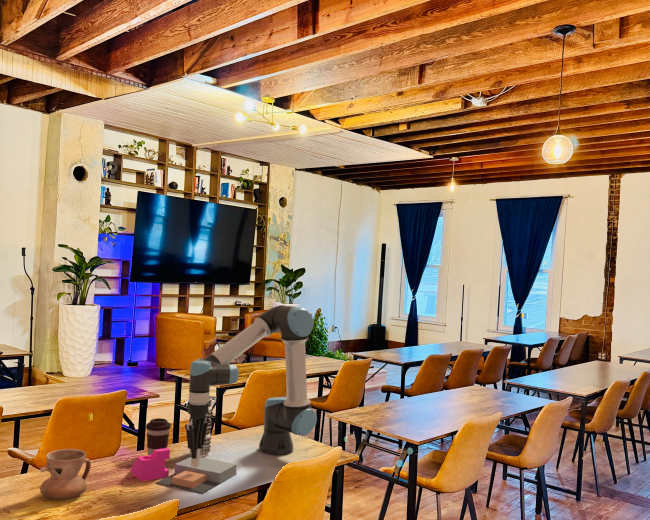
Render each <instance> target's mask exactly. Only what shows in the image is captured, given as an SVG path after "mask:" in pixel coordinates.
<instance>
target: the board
mask: <svg viewBox="0 0 650 520" xmlns="http://www.w3.org/2000/svg"><path fill="white" fill-rule="evenodd" d="M237 466H238V465H237V463H233V462H228V461H222V460H217V459H213V458H207V457H200V463H199V467H192V466H191V456H190V457H187V458H185V459H183V460H181V461H178V462H176V463H175V464H174V473H173V474H179V473H182V472H184V471H186V470H190V471H194V472H199V473H204V474H207V481H212V482H217V483H221V482H222V481H224V480H226V479H227V480H226V481H228V480H229V479H231V478H233V477H235V476H236V475H237ZM224 482H225V481H224ZM221 484H222V483H221Z"/></svg>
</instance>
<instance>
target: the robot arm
mask: <svg viewBox="0 0 650 520" xmlns="http://www.w3.org/2000/svg"><path fill="white" fill-rule="evenodd" d="M313 329H314V318H313V316H312V313H311V312H309V310H308V309H306V308H302V307H300V306H291V305H285V304H284V305H283V304H281V305H276V306H273V307H271V308H270V309H268V310H265V311H264V312H263V313H261V314H260V315H258V316H257V317H255V318H254V321H253V322H252V323H251V324H250V325H249V326H248V327H246V328H245V329H243V330H242V331H240V332H239V333H238V334H236V335H235V336H234V337H232V338H231V339H229V340H228V341H227V342H226V343H224V344H223V345H222V346H220V347H218V349H216V350H215V351H213V352H212V353H211V354H209V355H208V356H206V357H204V358H203V357H202V358H198V359H196V360H194V361H192V362H191V363H190V368H189V382H188V383H189V384H188V385H189V387H188V404H187V413H188V414H189V421H188V423H187V424H185V425H184V428H185V433H186V442H187V443H186V444H187V449H189V450H190V449H191V450H192V451H191V455H190V457H191V466H192V467H199V463H200V448H201V449H203V446H202V445H204V444H205V438H206V432H207V427H208V423H209V420H211V418H210V419H208V418H206V414H207V413H208V409H209V404H208V402H209V395H210V389H211V387H213V386H224V385H225V386H226V385H231V384H235V383H237V381H239V377H240V376H239V374H240V372H239V368H238V366H237V365H236V364H234V363H233V364H232V363H231V362H233V361H235V360H236V359H237V358H238V357H240V356H241V355H242V354H243V353H245V352H246V351H247V350H249V349H250V348H251V347H253V346H254V345H255V344H257V343H258V342H259V341H260V340H262V339H264V338H265V337H266V338H268V337H270V336H271V335H273V334H275V333H280V340H281V341H282V342H283V343H284V355H285V356H284V357H285V359H284V360H285V379H286V380H285V383H286V385H285V387H286V396H278V397H270V398H267V399H266V400H265V404H264V416H263V417H264V419H263V421H264V422H263V433H262V437H261V439H260V441H259V444H258V451H259V452H261V453H263V454H266V455H270V456H272V455H273V456H283V455H288V454H291V453H293V452H294V443H293V439H292V436H291V434H293V435H296V436H299V437H300V436H301V437H303V436H308V435H309V434H310V433H312V431H313V429H314V428H315V426H316V425H317V422H318V421H317V420H318V417H317V416H318V415H317V413H316V412H315V410H314V409H312V404H311V403H312V402H311V400H310V399H309V398H308V391H307V389H308V388H307V363H306V362H307V359H306V358H307V357H306V342H307V341H308V340H309V335H310V334H311V333H312V330H313ZM230 363H231V364H230Z"/></svg>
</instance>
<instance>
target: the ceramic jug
mask: <svg viewBox="0 0 650 520" xmlns="http://www.w3.org/2000/svg"><path fill="white" fill-rule="evenodd" d="M86 456H87V455H86V452H85V451H84V450H83V449H82V450H81V449H76V448H65V449H64V448H63V449H56V450H53V451H50V452H48V453H47V454H46V457H45V458H46V465H45V466H42V467H40V469H39V471H40V473H45V472H49V474H50V476H49V477H48V478H46V479H45V480H44V481H43V482H42V483H41V484H40V488H39V490H40V494H41V496H43V497H45V498H46V499H49V500H51V501H52V500H53V501H66V500H71V499H75V498H77V497H79V496H80V495H82V494H83V493H85V491H86V490H87V488H88V487H87V486H88V484H87V482H86V479H87V477H88V475H89V473H90V470H91V468H92V467H91V466H92V462H91V459H89V458H88V457H86ZM84 464H85V469H84V471H83V474H82V476H80V475H79V473H80V472H81V469H82V467H83V465H84Z"/></svg>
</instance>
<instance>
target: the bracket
mask: <svg viewBox="0 0 650 520" xmlns="http://www.w3.org/2000/svg"><path fill="white" fill-rule="evenodd" d="M170 459H171V449H170V448H168V447H167V448H164V449H157V450H154V451H153V453H152V455H148V454H147V455H141V456H138V457H137V458H136V459H135V461H134V462H133V465H132V467H131V468H130V473H131V474H132V473H133V474H132V475H134V477H136V479H138V478H139V479H140V480H139V479H138V480H139V481H141V482H146V481H152V480H153V479H154V480H158V478H159V479H164V478H163V477H165V478H166V477H168V476H170V470H169V469H168V468H166V467H165V466H166V460H170ZM154 480H153V481H154Z"/></svg>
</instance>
